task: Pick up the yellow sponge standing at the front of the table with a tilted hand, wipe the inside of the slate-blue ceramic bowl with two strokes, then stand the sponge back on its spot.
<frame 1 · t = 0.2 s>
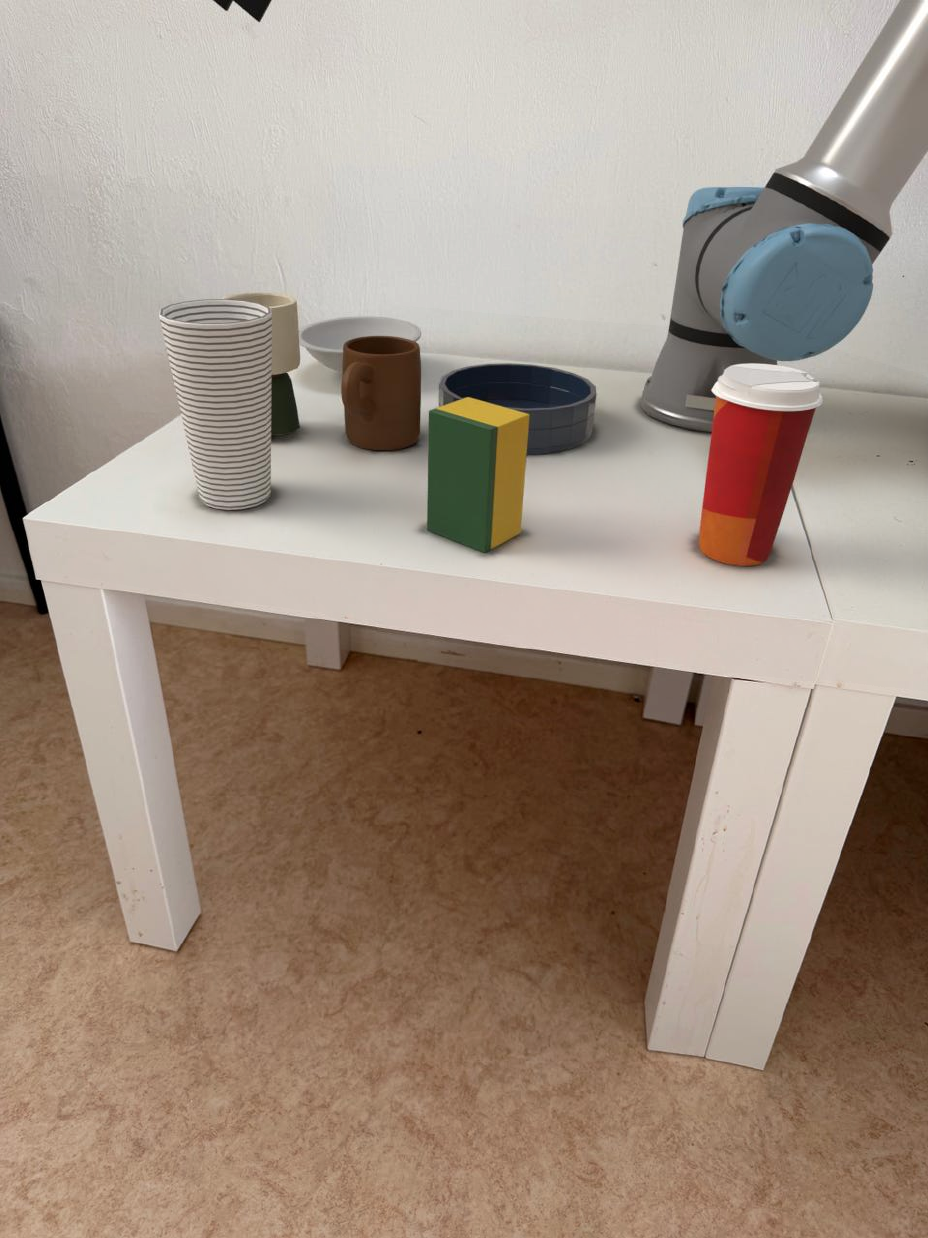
hand: (228, 4, 69), 36 cm above the table, tool tilted 35°, fingers open, 13 cm apart
paper cup: (732, 551, 71), on the table
mug: (374, 448, 88), on the table
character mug: (269, 434, 90), on the table
bowl: (515, 426, 94), on the table
dish: (360, 375, 109), on the table
cup: (235, 498, 77), on the table
sponge: (473, 531, 72), on the table
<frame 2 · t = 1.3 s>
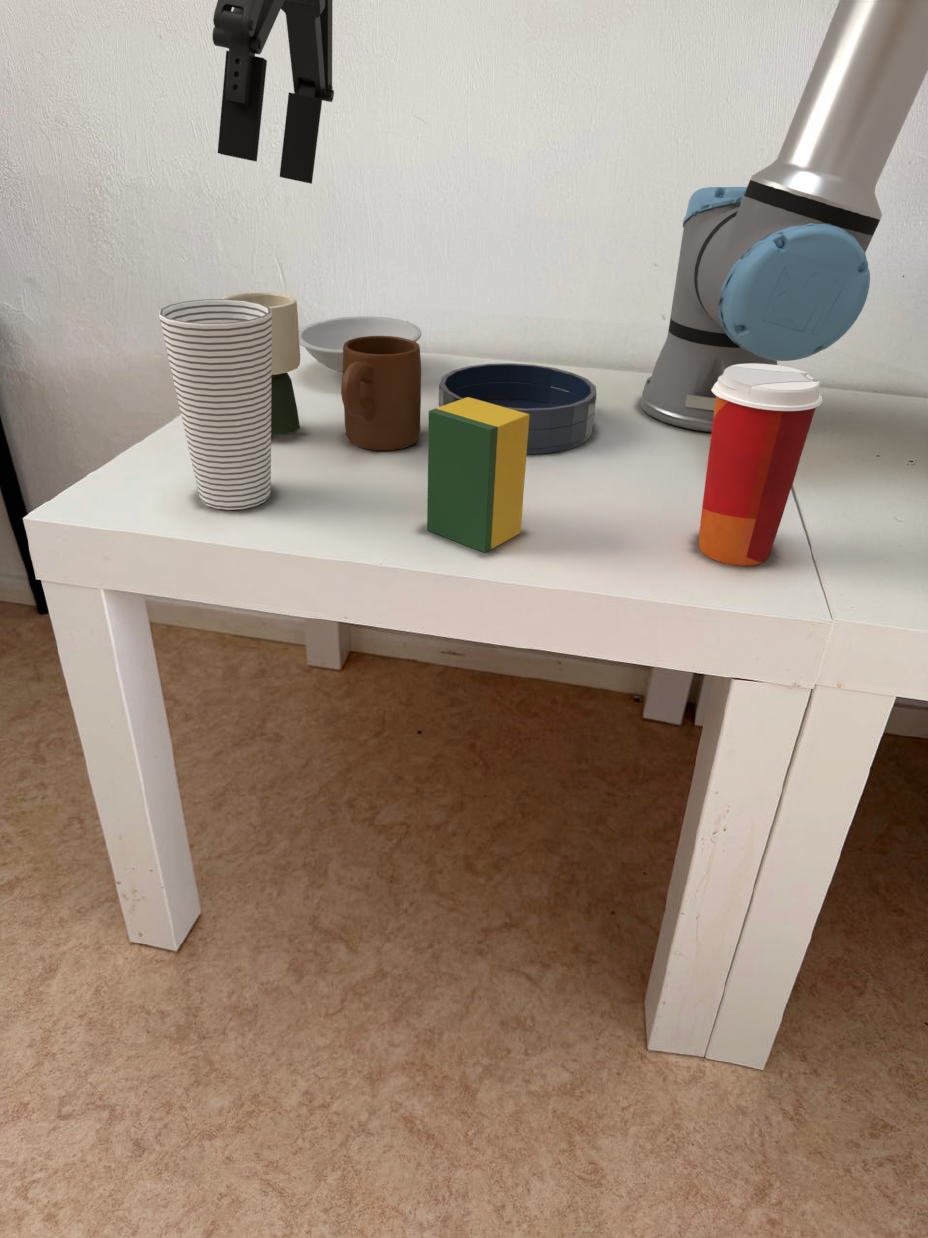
hand: (269, 170, 71), 25 cm above the table, tool pointing down, fingers open, 13 cm apart
nothing on the table moved.
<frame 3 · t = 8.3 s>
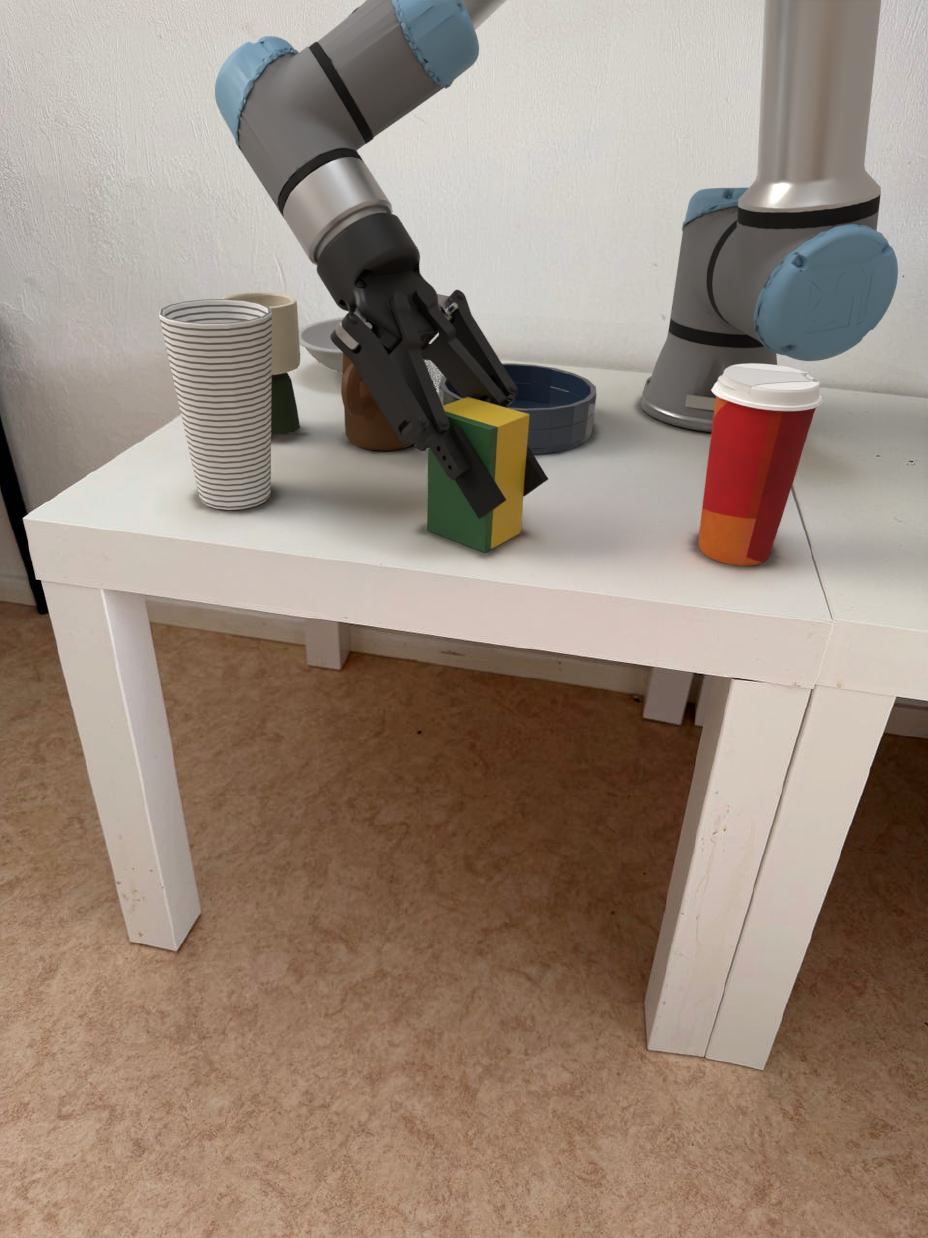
hand: (514, 498, 68), 4 cm above the table, tool tilted 45°, fingers closed on sponge, 5 cm apart
sponge: (473, 531, 72), on the table, touching gripper
everything else where it was.
when the fingers open (4 cm above the table, at t = 27.7 s): sponge stays where it is, on the table.
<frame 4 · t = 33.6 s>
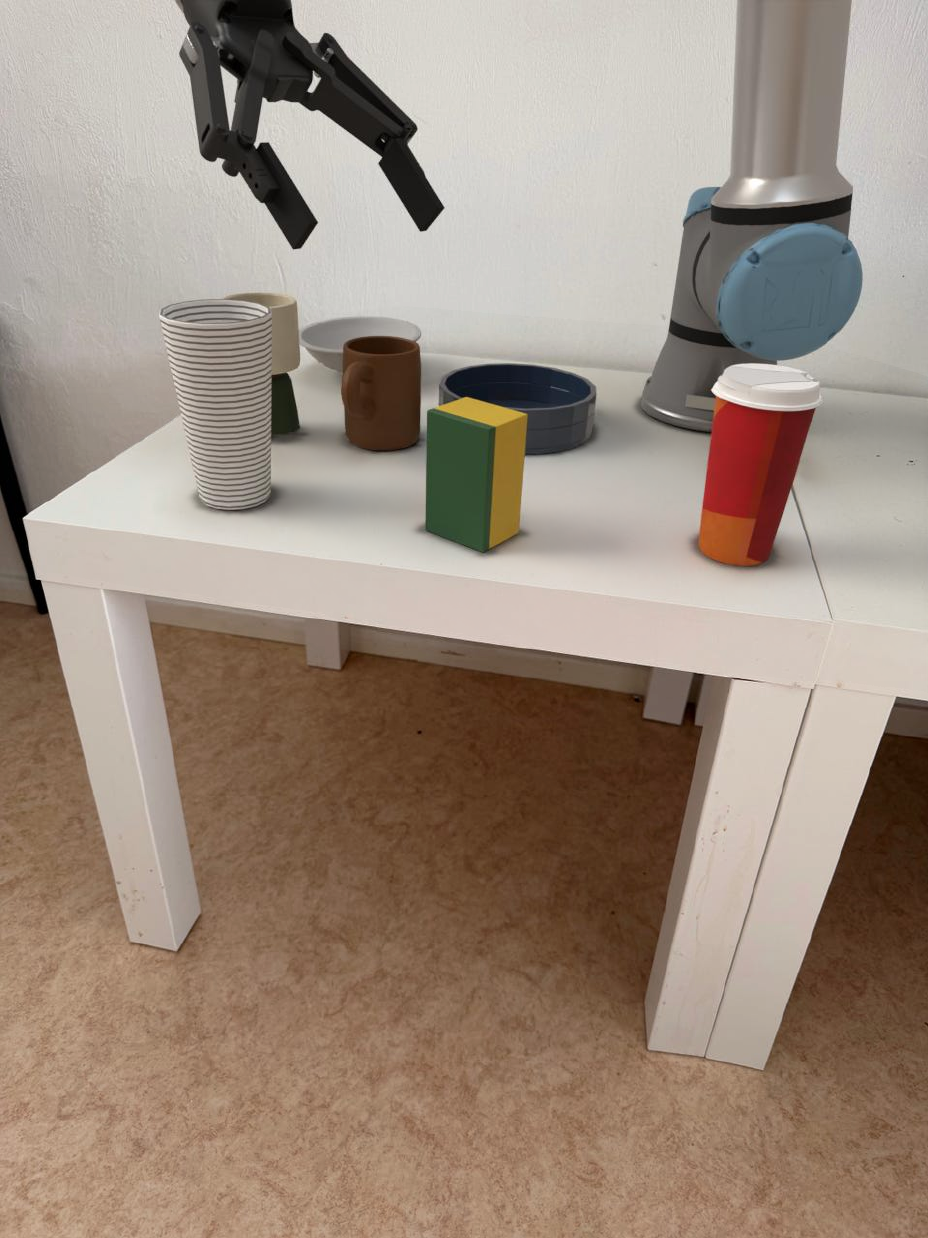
hand: (373, 227, 66), 22 cm above the table, tool tilted 45°, fingers open, 13 cm apart
sponge: (472, 531, 72), on the table
everything else where it was.
at the end: sponge 0.1 cm from the target spot on the table beside the bowl, on the table; sponge tilted 0°; the gripper is holding nothing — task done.
